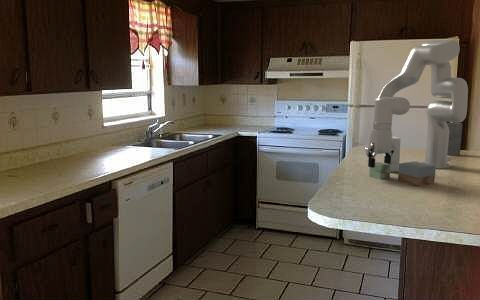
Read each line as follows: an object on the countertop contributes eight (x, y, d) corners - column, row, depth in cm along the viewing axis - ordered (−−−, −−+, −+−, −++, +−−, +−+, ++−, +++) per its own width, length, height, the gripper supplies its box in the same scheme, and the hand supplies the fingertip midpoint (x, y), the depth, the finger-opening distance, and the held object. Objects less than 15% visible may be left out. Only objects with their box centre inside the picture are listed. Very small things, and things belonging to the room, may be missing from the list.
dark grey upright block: (429, 154, 251) (432, 118, 247) (430, 152, 256) (433, 117, 252) (459, 156, 244) (463, 119, 241) (459, 154, 249) (462, 118, 246)
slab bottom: (413, 179, 193) (414, 170, 193) (434, 184, 185) (434, 174, 184) (397, 182, 188) (398, 172, 188) (417, 187, 180) (418, 177, 179)
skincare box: (399, 172, 204) (401, 138, 202) (383, 171, 206) (385, 138, 203) (396, 168, 212) (398, 136, 210) (382, 168, 214) (383, 135, 211)
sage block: (378, 175, 200) (379, 161, 199) (389, 177, 195) (390, 164, 193) (369, 176, 197) (370, 163, 195) (379, 179, 191) (380, 165, 190)
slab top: (414, 170, 193) (415, 161, 192) (435, 175, 184) (435, 165, 183) (398, 172, 188) (399, 163, 187) (418, 177, 179) (419, 167, 179)
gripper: (389, 125, 199) (386, 163, 202) (361, 126, 190) (358, 166, 193) (403, 126, 193) (399, 166, 196) (374, 128, 184) (371, 169, 187)
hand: (379, 166), depth 194 cm, fingers open, 9 cm apart
